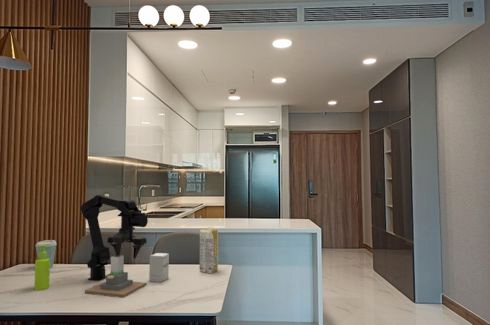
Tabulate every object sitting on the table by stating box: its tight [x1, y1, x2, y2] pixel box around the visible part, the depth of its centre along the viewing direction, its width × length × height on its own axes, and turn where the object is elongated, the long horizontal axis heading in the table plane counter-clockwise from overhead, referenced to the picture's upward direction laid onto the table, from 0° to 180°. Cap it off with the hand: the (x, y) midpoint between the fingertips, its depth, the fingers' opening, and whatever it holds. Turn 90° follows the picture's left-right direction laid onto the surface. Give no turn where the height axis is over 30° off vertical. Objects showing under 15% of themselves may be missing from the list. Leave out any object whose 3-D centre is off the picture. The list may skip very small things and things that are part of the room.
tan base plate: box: [84, 271, 148, 298], centre depth 162 cm, size 20×18×7 cm
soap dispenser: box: [34, 244, 52, 291], centre depth 163 cm, size 6×7×20 cm
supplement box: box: [148, 252, 170, 283], centre depth 177 cm, size 7×7×13 cm
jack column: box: [109, 254, 125, 275], centre depth 162 cm, size 4×4×10 cm
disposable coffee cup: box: [35, 239, 58, 269], centre depth 200 cm, size 11×11×15 cm
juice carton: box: [199, 226, 219, 274], centre depth 194 cm, size 9×8×24 cm
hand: (126, 258), depth 171 cm, fingers open, 9 cm apart
